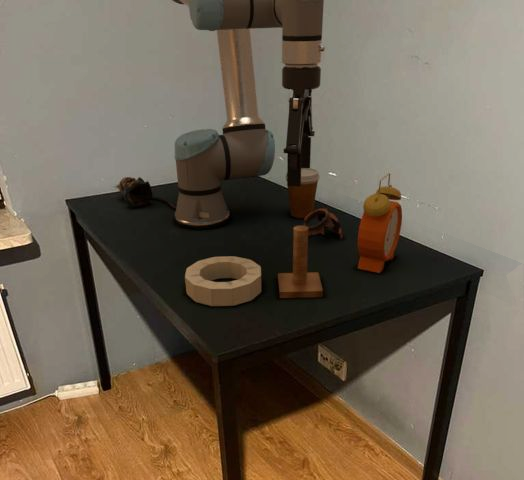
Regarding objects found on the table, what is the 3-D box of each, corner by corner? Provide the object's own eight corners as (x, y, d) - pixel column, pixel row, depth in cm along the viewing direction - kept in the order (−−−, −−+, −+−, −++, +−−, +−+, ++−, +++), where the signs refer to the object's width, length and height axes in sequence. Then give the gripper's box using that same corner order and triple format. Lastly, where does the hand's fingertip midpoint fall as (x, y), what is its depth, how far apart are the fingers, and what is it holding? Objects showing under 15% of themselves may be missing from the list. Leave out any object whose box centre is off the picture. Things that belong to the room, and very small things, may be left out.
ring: (172, 295, 116) (170, 278, 114) (213, 267, 128) (212, 251, 126) (237, 312, 110) (236, 294, 107) (274, 281, 121) (274, 264, 119)
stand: (279, 298, 114) (279, 236, 107) (277, 279, 122) (277, 220, 115) (322, 297, 114) (325, 235, 107) (318, 278, 122) (320, 219, 115)
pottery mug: (345, 245, 139) (332, 220, 133) (312, 258, 142) (297, 235, 137) (344, 217, 147) (331, 193, 141) (312, 230, 150) (298, 207, 145)
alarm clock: (379, 276, 122) (390, 187, 111) (354, 271, 125) (361, 183, 114) (398, 255, 132) (409, 170, 121) (373, 250, 134) (382, 167, 124)
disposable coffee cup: (283, 209, 161) (283, 167, 154) (315, 208, 162) (316, 166, 155) (287, 220, 153) (287, 177, 146) (320, 219, 154) (322, 176, 147)
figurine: (123, 192, 158) (109, 173, 168) (133, 216, 164) (119, 197, 174) (150, 180, 160) (134, 162, 170) (159, 204, 166) (144, 186, 176)
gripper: (312, 73, 95) (308, 195, 107) (328, 58, 115) (323, 161, 127) (269, 73, 96) (270, 193, 108) (293, 58, 117) (291, 160, 128)
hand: (299, 176), depth 118 cm, fingers open, 13 cm apart
